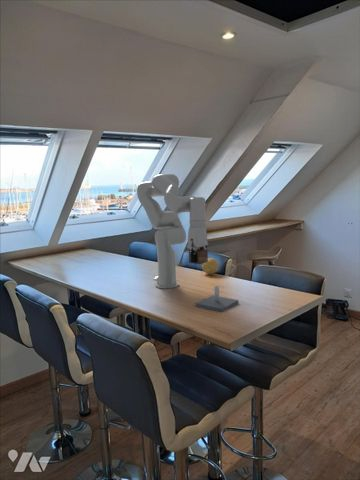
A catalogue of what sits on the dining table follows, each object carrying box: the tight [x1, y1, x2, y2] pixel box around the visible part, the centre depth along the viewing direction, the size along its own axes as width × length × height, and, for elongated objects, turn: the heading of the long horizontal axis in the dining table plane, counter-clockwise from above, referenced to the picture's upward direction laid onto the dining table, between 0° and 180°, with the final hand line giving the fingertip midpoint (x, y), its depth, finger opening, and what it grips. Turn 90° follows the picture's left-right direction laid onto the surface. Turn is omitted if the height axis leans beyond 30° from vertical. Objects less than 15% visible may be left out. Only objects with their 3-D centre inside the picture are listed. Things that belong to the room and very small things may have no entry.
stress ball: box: [201, 257, 219, 276], centre depth 223 cm, size 10×10×10 cm
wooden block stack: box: [188, 248, 209, 265], centre depth 176 cm, size 6×6×6 cm
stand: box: [194, 285, 239, 313], centre depth 166 cm, size 14×14×8 cm
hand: (198, 260), depth 176 cm, fingers closed on wooden block stack, 6 cm apart
